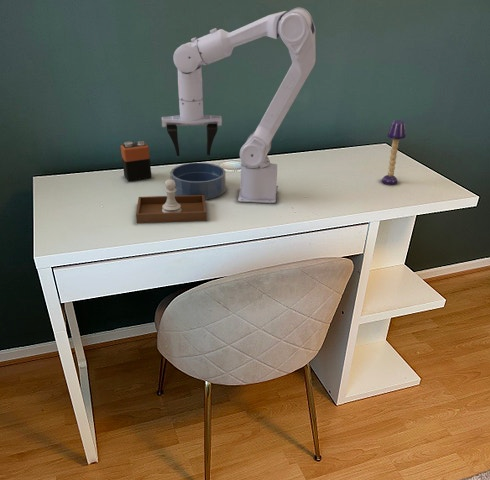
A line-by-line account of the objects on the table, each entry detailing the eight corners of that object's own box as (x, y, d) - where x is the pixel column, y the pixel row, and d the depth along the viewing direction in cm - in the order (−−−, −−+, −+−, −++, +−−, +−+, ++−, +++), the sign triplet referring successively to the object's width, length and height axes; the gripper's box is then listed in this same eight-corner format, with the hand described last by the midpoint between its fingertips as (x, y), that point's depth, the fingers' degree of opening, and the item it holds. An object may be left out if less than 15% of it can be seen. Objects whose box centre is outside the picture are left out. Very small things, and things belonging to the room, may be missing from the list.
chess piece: (176, 205, 124) (174, 174, 120) (185, 212, 121) (183, 180, 116) (158, 209, 122) (156, 178, 117) (167, 216, 119) (164, 184, 114)
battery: (124, 176, 140) (119, 141, 135) (147, 173, 143) (144, 138, 137) (127, 182, 137) (123, 146, 131) (152, 178, 140) (148, 143, 134)
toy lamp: (378, 183, 139) (388, 122, 130) (381, 177, 143) (391, 118, 134) (395, 186, 138) (407, 124, 129) (398, 180, 142) (409, 120, 132)
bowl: (227, 180, 139) (227, 163, 136) (222, 201, 127) (222, 183, 124) (176, 179, 140) (175, 161, 137) (167, 199, 128) (165, 181, 125)
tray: (204, 202, 127) (204, 194, 125) (206, 220, 118) (206, 212, 117) (139, 204, 125) (138, 196, 124) (136, 223, 116) (135, 214, 115)
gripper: (219, 94, 124) (220, 148, 132) (160, 95, 122) (164, 149, 130) (222, 101, 118) (222, 157, 126) (160, 102, 116) (164, 159, 124)
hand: (193, 154), depth 127 cm, fingers open, 7 cm apart
